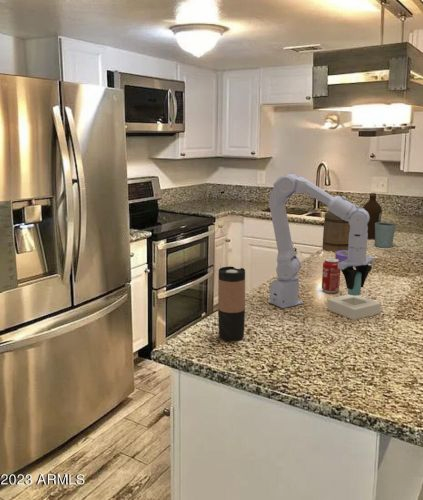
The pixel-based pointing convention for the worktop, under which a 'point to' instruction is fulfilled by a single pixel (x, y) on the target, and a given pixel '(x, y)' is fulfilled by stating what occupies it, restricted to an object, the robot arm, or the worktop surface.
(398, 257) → the worktop surface
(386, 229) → the drinking glass
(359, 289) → the teal dowel
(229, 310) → the travel mug
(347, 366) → the worktop surface
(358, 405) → the worktop surface
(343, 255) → the tape roll
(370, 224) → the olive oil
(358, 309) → the well block
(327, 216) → the wooden container
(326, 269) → the beverage can
